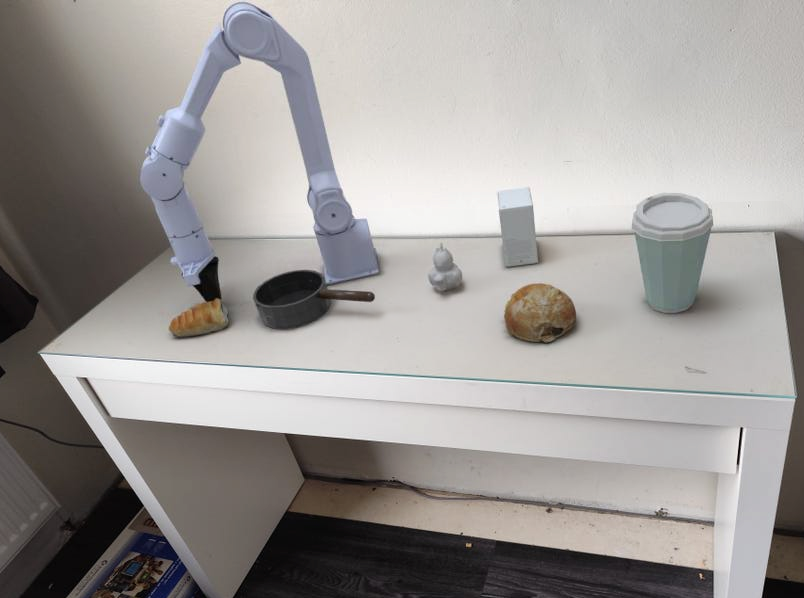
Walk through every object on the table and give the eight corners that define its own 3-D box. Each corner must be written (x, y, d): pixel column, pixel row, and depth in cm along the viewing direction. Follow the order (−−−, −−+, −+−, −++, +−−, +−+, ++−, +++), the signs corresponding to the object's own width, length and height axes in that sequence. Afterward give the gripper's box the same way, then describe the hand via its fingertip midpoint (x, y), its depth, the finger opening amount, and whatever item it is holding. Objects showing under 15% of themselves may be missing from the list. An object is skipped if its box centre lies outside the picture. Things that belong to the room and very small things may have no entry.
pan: (330, 285, 116) (324, 264, 114) (332, 319, 107) (325, 297, 104) (263, 299, 116) (255, 278, 113) (258, 336, 106) (250, 313, 104)
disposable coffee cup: (724, 303, 95) (734, 204, 86) (667, 332, 91) (672, 232, 83) (669, 276, 103) (673, 183, 94) (615, 302, 99) (614, 208, 90)
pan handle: (317, 300, 107) (315, 292, 106) (322, 295, 108) (320, 286, 107) (373, 304, 104) (371, 295, 103) (377, 298, 105) (375, 290, 104)
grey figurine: (468, 278, 111) (461, 235, 107) (456, 299, 106) (449, 255, 102) (437, 278, 113) (429, 235, 108) (425, 298, 108) (416, 254, 103)
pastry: (172, 345, 107) (163, 325, 105) (172, 326, 113) (163, 306, 111) (231, 327, 109) (222, 307, 107) (228, 309, 115) (220, 290, 112)
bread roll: (523, 367, 96) (532, 336, 89) (488, 314, 100) (494, 280, 93) (580, 341, 98) (593, 310, 92) (544, 291, 103) (553, 257, 96)
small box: (538, 264, 112) (533, 205, 106) (505, 268, 112) (498, 209, 106) (535, 242, 118) (530, 186, 112) (503, 246, 119) (497, 190, 113)
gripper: (167, 218, 113) (197, 287, 121) (151, 254, 101) (185, 329, 109) (209, 209, 113) (236, 279, 121) (197, 244, 102) (228, 319, 110)
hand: (215, 302), depth 115 cm, fingers closed
